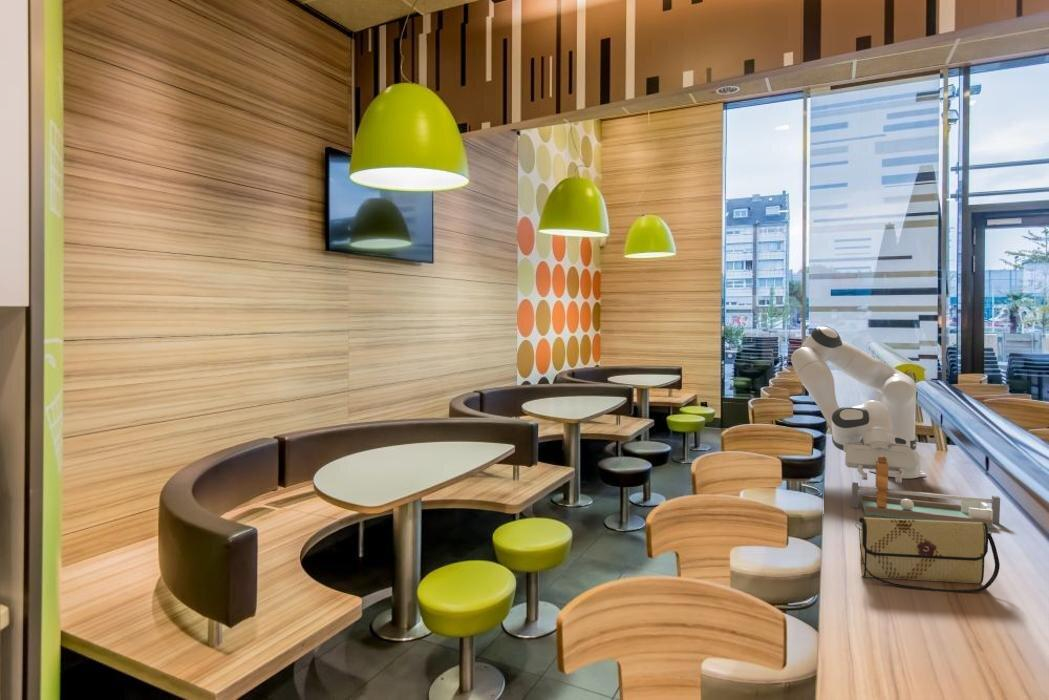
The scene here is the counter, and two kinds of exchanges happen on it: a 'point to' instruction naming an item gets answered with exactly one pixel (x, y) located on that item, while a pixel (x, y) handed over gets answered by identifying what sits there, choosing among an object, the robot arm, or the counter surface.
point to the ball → (907, 504)
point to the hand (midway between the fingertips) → (881, 480)
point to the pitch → (931, 507)
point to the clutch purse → (926, 551)
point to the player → (881, 481)
